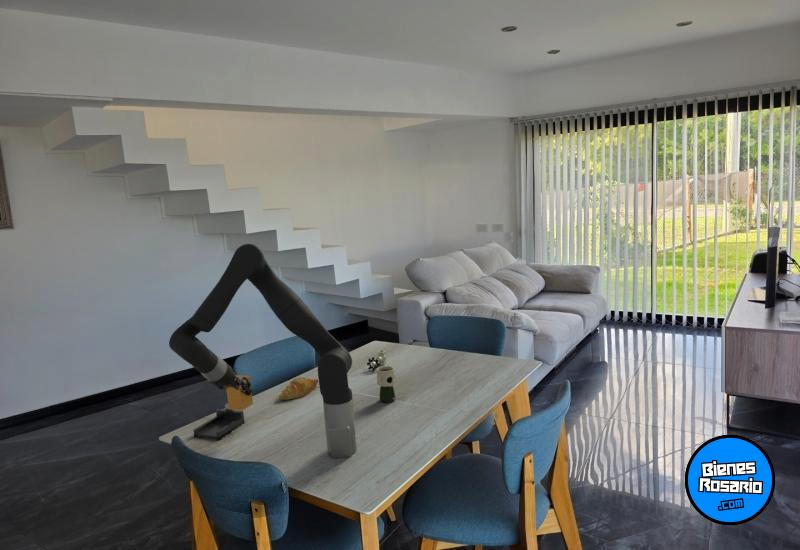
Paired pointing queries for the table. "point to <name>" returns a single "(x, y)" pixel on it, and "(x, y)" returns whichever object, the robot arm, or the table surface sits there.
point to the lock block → (238, 397)
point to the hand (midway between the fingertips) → (242, 392)
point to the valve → (377, 360)
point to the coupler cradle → (220, 424)
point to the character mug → (386, 382)
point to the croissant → (298, 388)
